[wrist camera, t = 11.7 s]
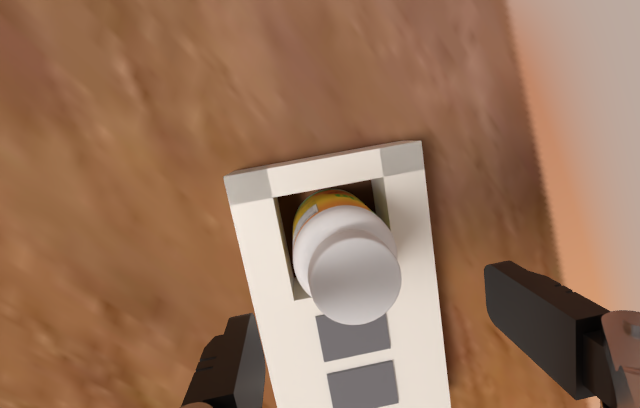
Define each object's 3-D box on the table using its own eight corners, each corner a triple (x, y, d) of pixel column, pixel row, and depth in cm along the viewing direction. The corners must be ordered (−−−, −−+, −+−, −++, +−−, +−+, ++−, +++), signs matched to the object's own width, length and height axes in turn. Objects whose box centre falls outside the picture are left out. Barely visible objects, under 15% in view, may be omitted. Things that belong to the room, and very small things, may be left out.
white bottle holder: (233, 171, 22) (221, 177, 18) (401, 140, 23) (424, 140, 19) (290, 420, 26) (290, 468, 22) (432, 389, 27) (455, 430, 23)
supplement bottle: (382, 214, 24) (444, 264, 14) (340, 274, 24) (371, 361, 15) (320, 172, 23) (340, 195, 13) (277, 236, 23) (267, 302, 14)
